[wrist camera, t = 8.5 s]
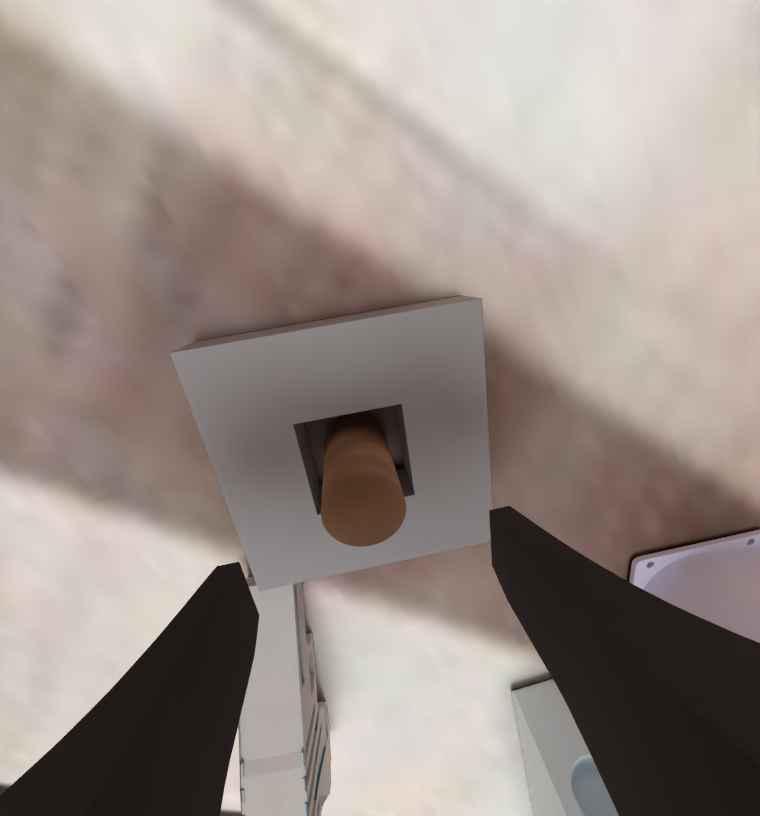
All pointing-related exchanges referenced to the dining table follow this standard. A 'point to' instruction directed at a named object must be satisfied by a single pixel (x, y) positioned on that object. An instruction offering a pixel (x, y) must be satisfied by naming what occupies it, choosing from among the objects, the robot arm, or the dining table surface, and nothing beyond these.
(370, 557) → the socket plate
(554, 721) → the guitar pedal
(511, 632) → the dining table surface
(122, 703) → the robot arm
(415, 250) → the dining table surface
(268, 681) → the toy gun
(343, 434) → the peg
